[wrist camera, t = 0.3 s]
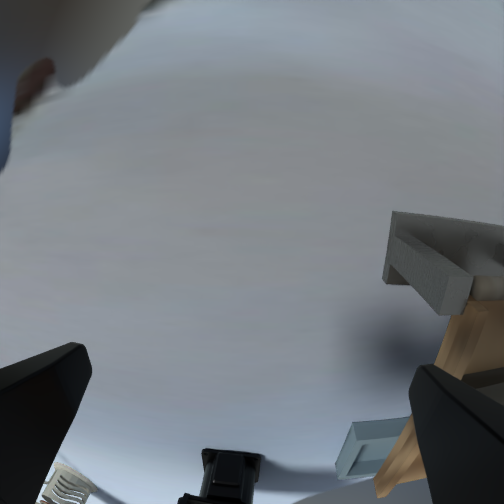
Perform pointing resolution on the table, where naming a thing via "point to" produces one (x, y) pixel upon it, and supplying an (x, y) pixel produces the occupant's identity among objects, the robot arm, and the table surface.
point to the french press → (67, 486)
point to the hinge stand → (442, 257)
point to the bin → (368, 447)
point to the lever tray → (458, 371)
